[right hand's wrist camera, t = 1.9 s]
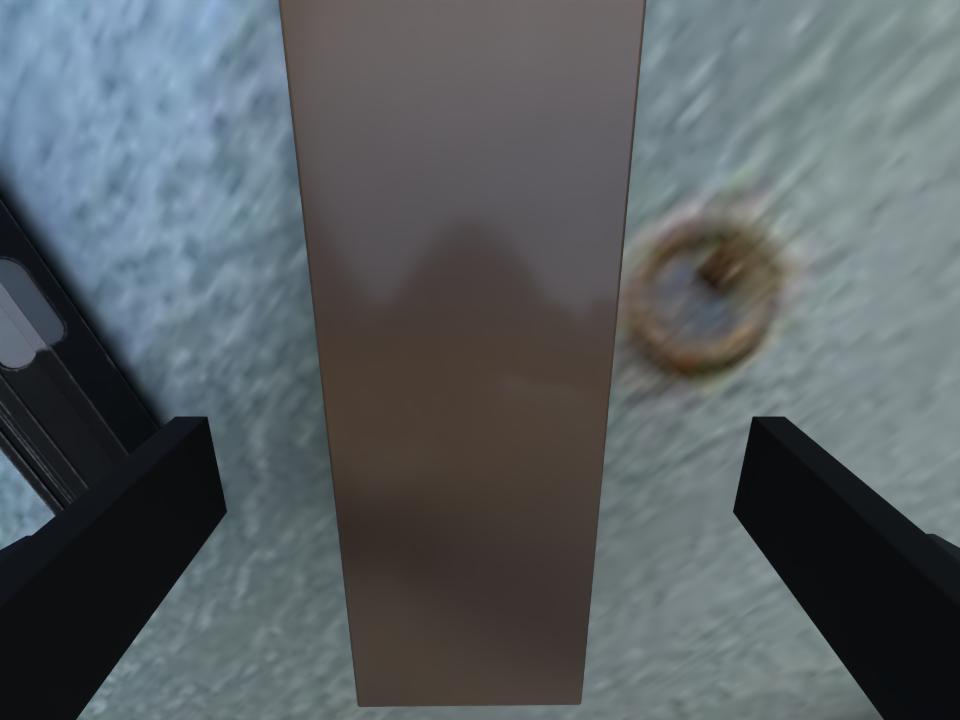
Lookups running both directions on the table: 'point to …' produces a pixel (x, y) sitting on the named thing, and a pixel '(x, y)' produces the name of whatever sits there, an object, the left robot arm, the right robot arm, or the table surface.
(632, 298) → the table surface
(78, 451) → the handgun
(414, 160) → the beam
